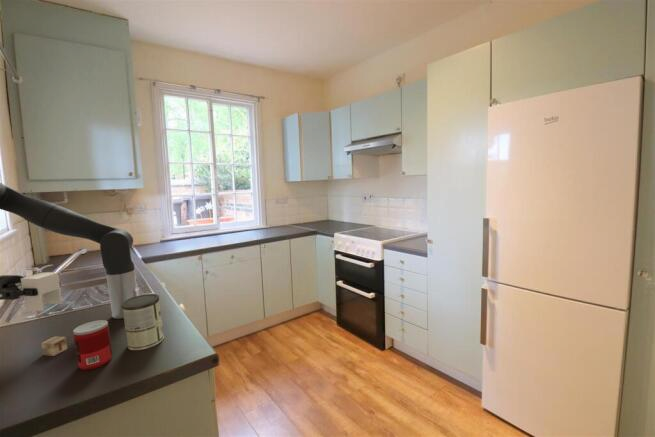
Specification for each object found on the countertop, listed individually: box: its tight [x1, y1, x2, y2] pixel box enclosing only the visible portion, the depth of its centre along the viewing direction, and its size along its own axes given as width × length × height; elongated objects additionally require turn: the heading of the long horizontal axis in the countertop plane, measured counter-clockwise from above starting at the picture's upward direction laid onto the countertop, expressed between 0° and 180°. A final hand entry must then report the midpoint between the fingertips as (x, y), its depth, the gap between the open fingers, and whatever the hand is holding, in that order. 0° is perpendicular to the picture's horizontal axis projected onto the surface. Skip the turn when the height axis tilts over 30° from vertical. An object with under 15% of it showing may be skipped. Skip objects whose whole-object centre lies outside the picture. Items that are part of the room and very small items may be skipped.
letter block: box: [41, 336, 68, 357], centre depth 97 cm, size 4×4×4 cm
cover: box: [21, 272, 63, 312], centre depth 96 cm, size 6×6×10 cm
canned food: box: [72, 319, 113, 371], centre depth 89 cm, size 8×8×11 cm
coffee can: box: [121, 293, 165, 351], centre depth 99 cm, size 10×10×14 cm
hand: (48, 288), depth 96 cm, fingers closed on cover, 6 cm apart
